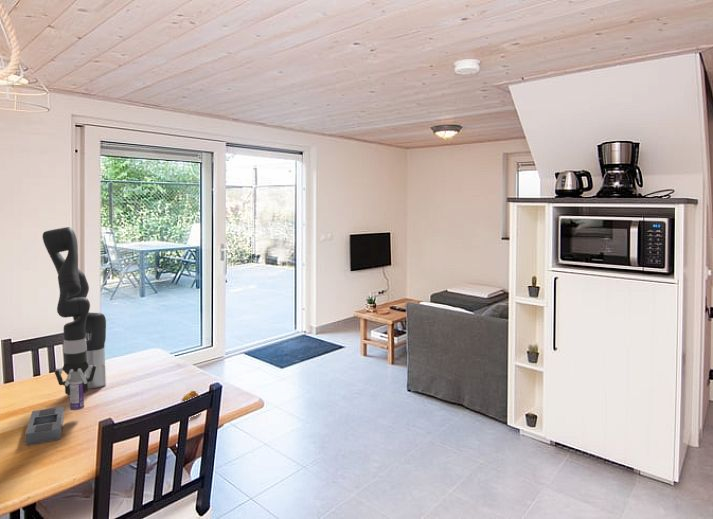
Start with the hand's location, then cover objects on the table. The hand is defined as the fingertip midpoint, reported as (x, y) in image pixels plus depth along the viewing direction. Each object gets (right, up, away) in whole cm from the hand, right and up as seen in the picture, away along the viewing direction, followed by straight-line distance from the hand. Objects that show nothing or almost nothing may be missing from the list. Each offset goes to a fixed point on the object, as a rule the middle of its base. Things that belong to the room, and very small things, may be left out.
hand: (76, 393), depth 183 cm
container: (0, -6, +1) cm, 6 cm away
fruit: (+40, -10, +11) cm, 43 cm away
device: (-6, -11, -9) cm, 15 cm away
